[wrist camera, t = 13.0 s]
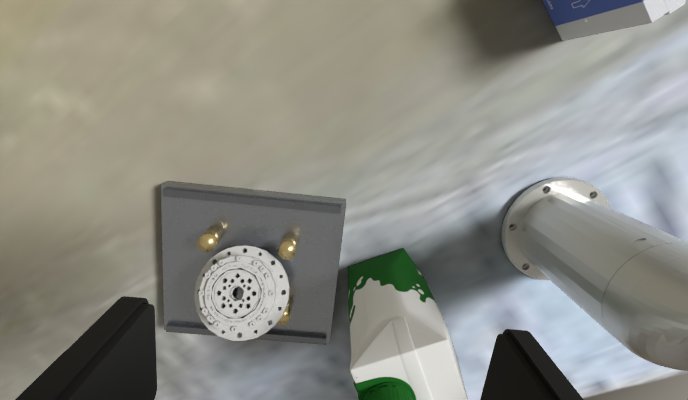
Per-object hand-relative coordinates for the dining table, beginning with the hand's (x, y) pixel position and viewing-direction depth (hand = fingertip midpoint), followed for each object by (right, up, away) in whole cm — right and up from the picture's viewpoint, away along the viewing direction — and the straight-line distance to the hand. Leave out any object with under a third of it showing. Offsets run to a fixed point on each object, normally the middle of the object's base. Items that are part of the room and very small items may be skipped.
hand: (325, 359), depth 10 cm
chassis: (-10, -3, +35) cm, 37 cm away
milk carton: (+6, -6, +37) cm, 38 cm away
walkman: (+22, +25, +28) cm, 43 cm away
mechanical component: (-10, -6, +32) cm, 34 cm away
